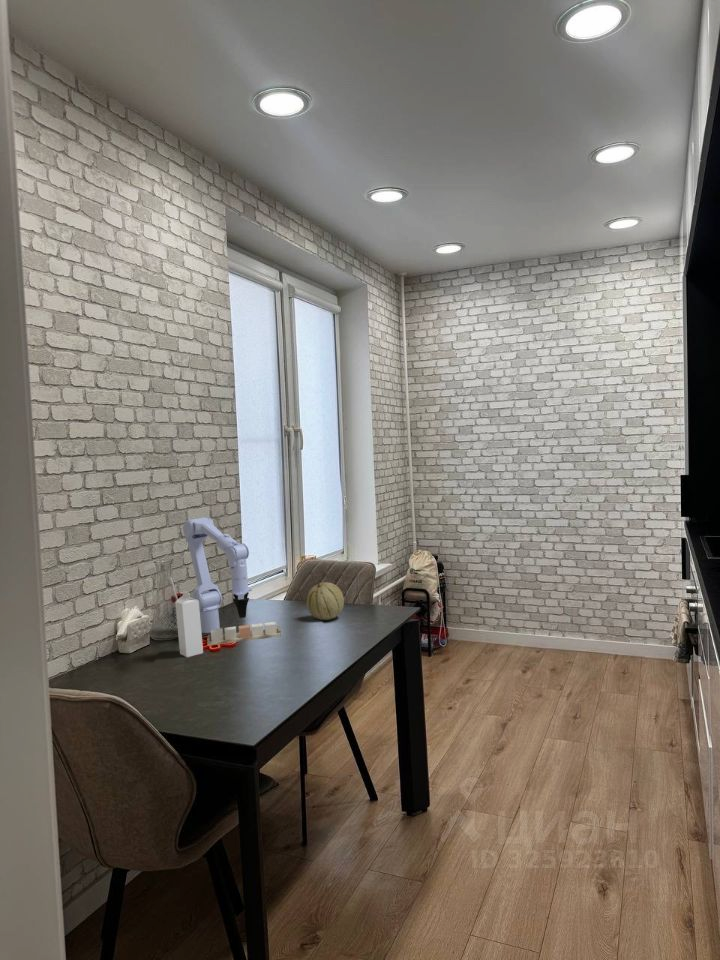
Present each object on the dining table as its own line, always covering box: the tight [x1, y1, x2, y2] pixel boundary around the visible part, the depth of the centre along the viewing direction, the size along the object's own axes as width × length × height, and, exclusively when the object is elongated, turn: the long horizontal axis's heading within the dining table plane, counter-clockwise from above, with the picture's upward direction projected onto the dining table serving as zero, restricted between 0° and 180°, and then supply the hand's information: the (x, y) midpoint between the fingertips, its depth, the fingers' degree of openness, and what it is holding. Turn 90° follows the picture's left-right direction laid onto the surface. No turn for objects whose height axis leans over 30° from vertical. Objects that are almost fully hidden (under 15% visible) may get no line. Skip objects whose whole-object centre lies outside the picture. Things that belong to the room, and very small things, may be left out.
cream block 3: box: [250, 622, 264, 636], centre depth 245 cm, size 4×4×4 cm
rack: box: [206, 625, 282, 646], centre depth 244 cm, size 26×8×3 cm, turn 101°
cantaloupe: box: [306, 581, 345, 621], centre depth 264 cm, size 15×15×15 cm
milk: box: [174, 590, 204, 658], centre depth 229 cm, size 6×6×22 cm
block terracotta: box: [238, 624, 251, 638], centre depth 244 cm, size 4×4×4 cm
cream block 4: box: [264, 621, 277, 635], centre depth 246 cm, size 4×4×4 cm
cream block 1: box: [210, 627, 224, 641], centre depth 242 cm, size 4×4×4 cm
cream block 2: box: [224, 626, 237, 640], centre depth 243 cm, size 4×4×4 cm
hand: (242, 615), depth 244 cm, fingers open, 7 cm apart
